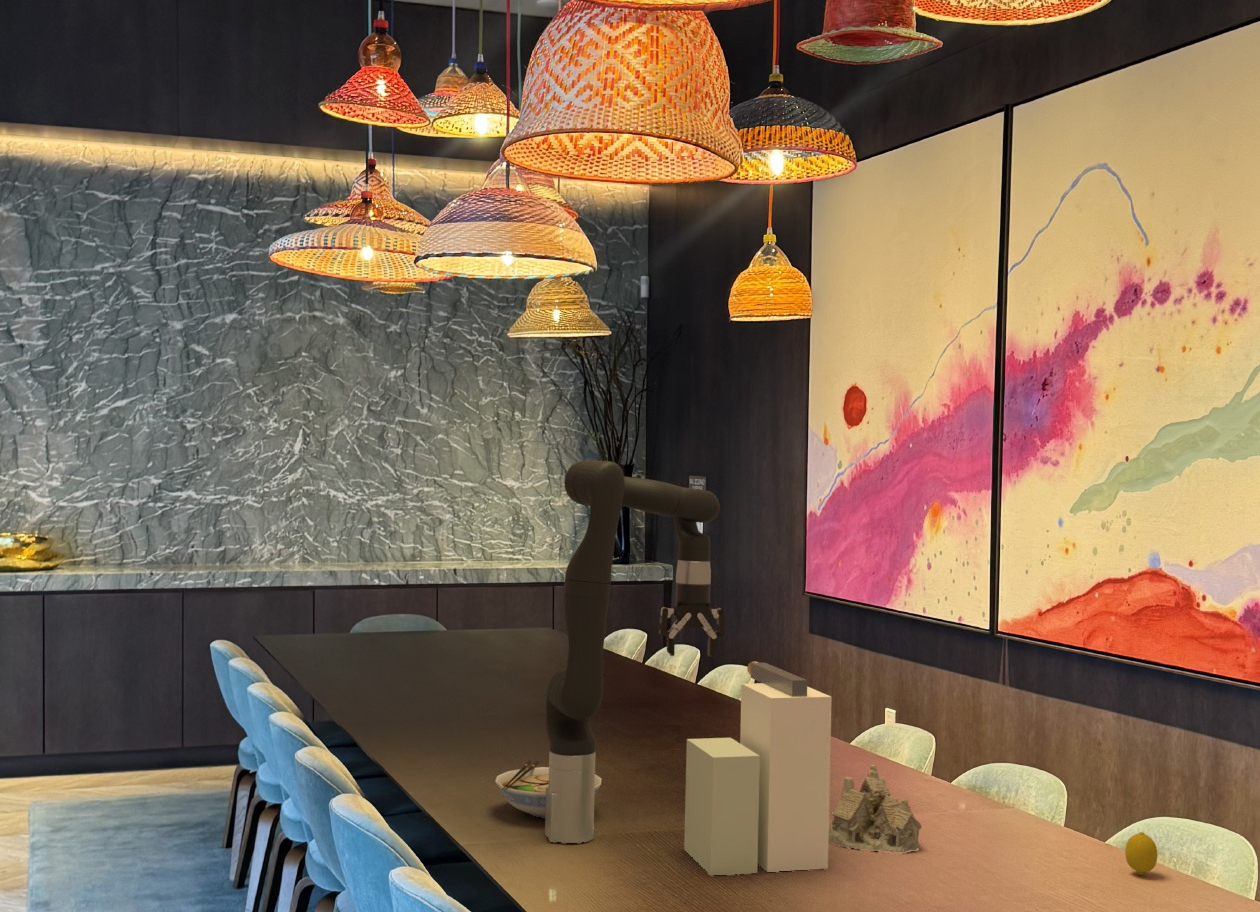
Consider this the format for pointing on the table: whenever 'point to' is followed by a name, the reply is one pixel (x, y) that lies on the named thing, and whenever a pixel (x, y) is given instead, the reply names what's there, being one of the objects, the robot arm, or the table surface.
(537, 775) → the ramen bowl
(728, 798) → the beige rectangular block
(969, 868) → the table surface
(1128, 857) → the lemon
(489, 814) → the table surface
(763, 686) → the white stand
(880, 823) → the ceramic cottage
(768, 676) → the rod
